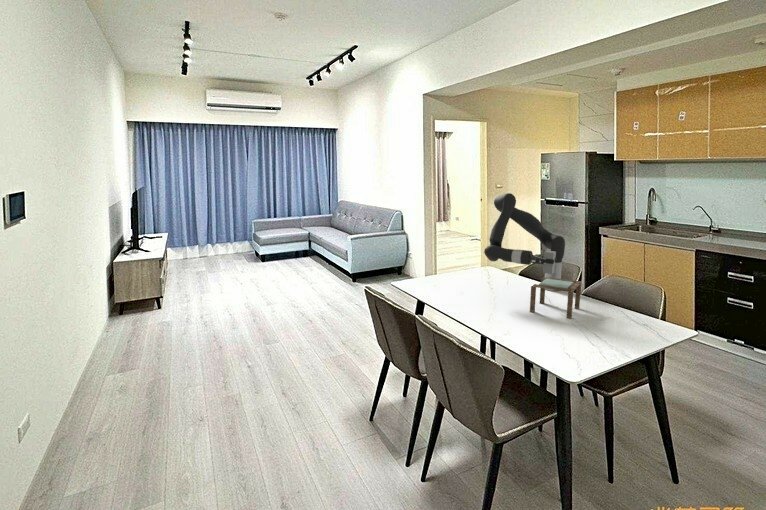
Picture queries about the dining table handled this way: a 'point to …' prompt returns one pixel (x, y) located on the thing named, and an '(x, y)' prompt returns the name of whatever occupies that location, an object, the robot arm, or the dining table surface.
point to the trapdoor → (557, 283)
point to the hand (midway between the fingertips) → (555, 260)
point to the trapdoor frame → (570, 291)
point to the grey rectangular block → (549, 267)
